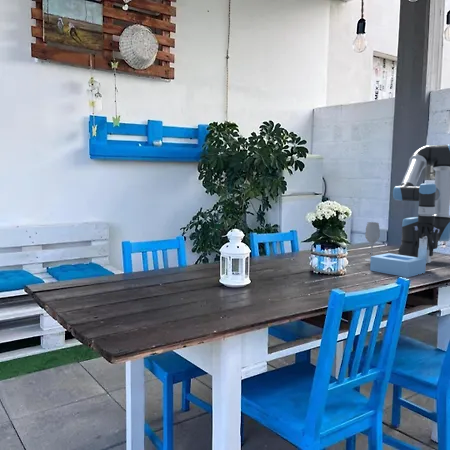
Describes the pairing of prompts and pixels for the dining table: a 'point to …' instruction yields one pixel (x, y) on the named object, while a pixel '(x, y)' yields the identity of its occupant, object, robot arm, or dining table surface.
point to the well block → (398, 264)
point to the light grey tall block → (423, 247)
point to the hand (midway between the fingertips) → (424, 261)
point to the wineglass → (372, 235)
